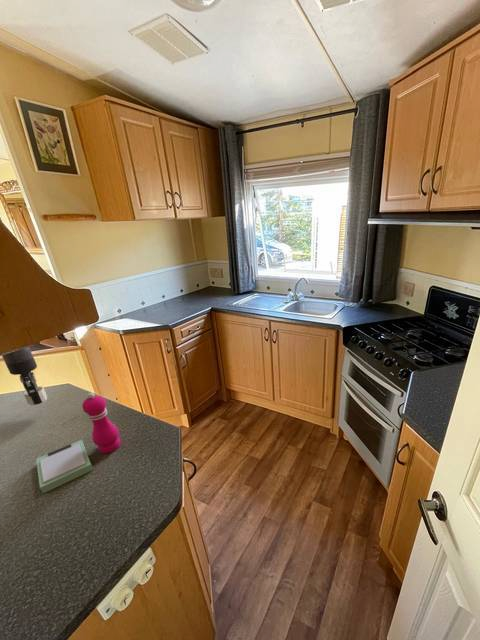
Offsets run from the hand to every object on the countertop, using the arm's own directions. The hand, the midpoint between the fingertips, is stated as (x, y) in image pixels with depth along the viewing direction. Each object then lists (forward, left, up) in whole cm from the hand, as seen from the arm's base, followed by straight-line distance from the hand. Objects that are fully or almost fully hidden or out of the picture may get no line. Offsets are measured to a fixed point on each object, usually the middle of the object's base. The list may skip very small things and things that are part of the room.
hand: (37, 399), depth 105 cm
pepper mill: (+31, -21, -8) cm, 39 cm away
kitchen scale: (+21, -28, -8) cm, 36 cm away
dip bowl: (0, 0, -1) cm, 1 cm away
